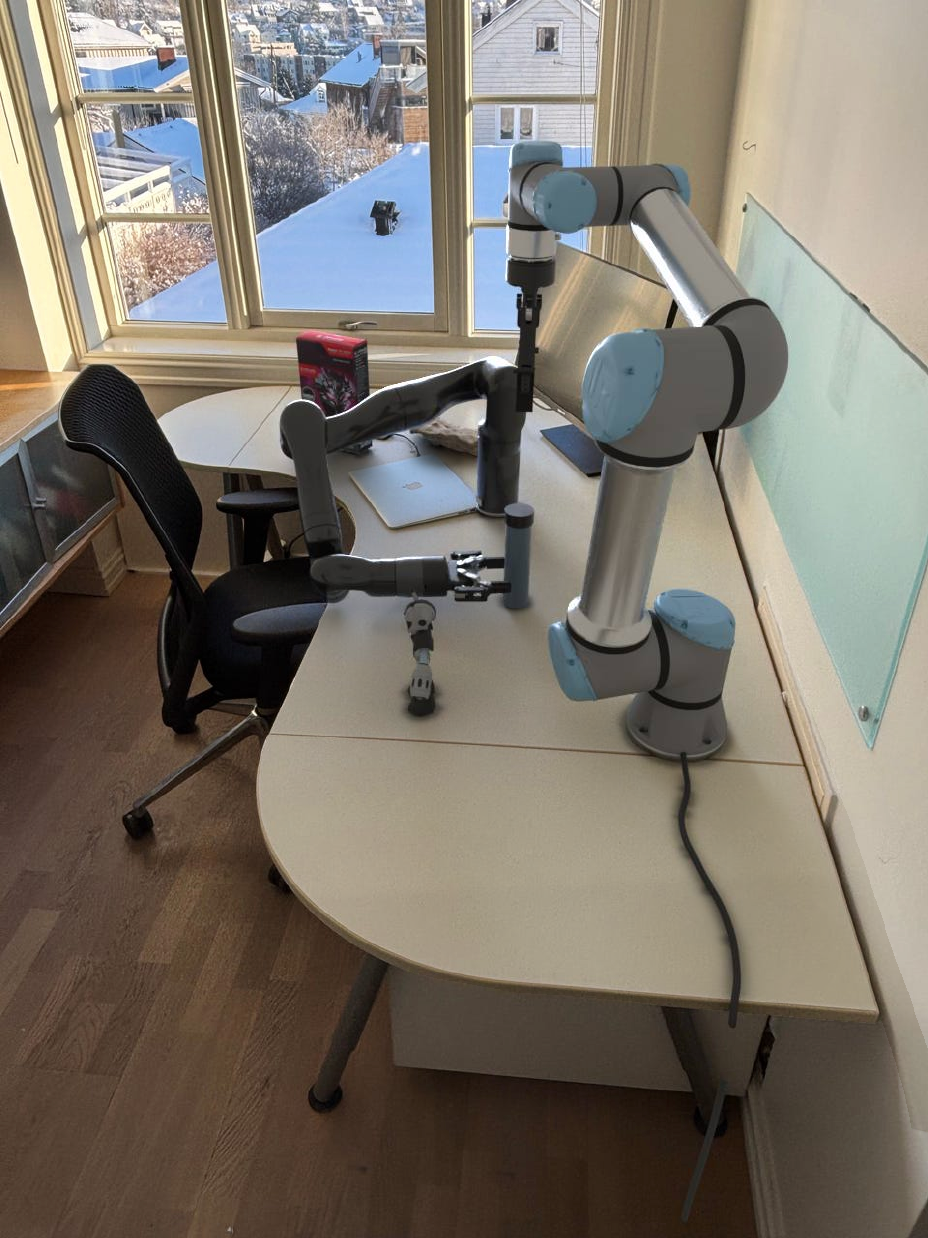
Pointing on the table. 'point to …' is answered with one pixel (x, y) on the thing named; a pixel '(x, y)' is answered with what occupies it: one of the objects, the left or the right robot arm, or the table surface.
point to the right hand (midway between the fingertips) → (524, 401)
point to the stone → (449, 436)
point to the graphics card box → (334, 374)
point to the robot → (421, 655)
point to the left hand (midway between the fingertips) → (508, 574)
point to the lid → (519, 515)
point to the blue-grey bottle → (517, 565)
